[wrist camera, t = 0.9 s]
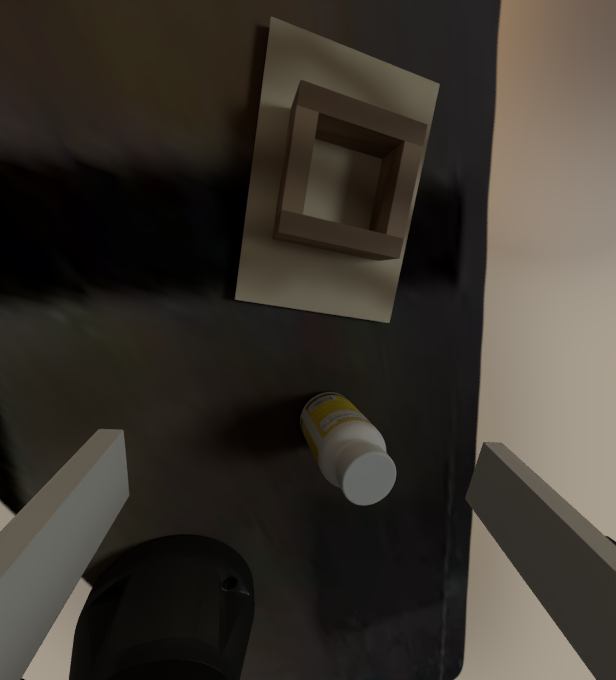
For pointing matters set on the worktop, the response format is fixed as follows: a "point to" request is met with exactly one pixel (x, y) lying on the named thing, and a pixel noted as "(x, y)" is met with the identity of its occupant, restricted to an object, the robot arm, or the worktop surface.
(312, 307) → the collar board
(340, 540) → the worktop surface
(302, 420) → the supplement bottle
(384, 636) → the worktop surface
